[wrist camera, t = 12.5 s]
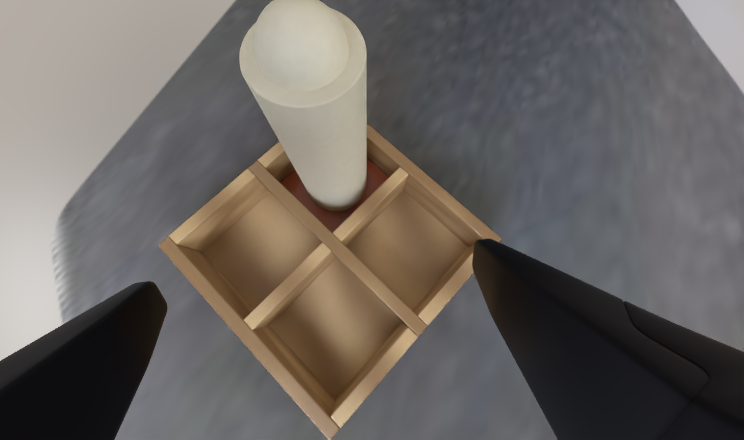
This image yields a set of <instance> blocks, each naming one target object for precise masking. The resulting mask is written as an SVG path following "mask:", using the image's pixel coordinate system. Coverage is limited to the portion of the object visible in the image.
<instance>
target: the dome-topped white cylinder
mask: <svg viewBox="0 0 744 440" xmlns="http://www.w3.org/2000/svg"><path fill="white" fill-rule="evenodd" d="M239 58H240V68H241V72H242V74H243V77H244V79H245V81H246V82H247V84H248V86H249V88H250V90H251V91H252V93H253V95H254V97H255V98H256V100H257V102H258V104H259V106H260V107H261V109H262V111H263V113H264V115H265V116H266V118H267V120H268V122H269V124H270V125H271V127H272V129H273V131H274V132H275V134H276V136H277V138H278V140H279V141H280V143H281V145H282V147H283V149H284V150H285V152H286V154H287V156H288V158H289V159H290V161H291V163H292V165H293V167H294V168H295V170H296V172H297V174H298V175H299V177H300V179H301V181H302V183H303V184H304V186H305V188H306V190H307V192H308V193H309V195H310V197H311V199H312V200H313V201H314V202H315V203H316V204H317V205H318V206H319V207H321V208H323V209H325V210H329V211H344V210H347V209H350V208H352V207H353V206H355V205H356V204H357V203H358V202H359V201H360V200H361V199H362V197H363V196H364V193H365V191H366V186H367V114H366V46H365V42H364V39H363V37H362V35H361V33H360V31H359V29H358V28H357V27H356V25H355V24H354V23H353V22H352V21H351V20H350V19H349V18H347V17H346V16H345V15H343V14H341V13H340V12H338V11H336V10H334V9H331V8H329V7H328V6H326V5H325V4H324V3H322V2H321V1H319V0H273V1H272V2H271V3H269V4H268V5H267V6H266V7H265V8H264V10H263V11H262V13H261V14H260V16H259V18H258V20H257V22H256V23H255V24H254V25H253V26H252V27H251V28H250V29H249V31H248V32H247V34H246V35H245V37H244V40H243V42H242V45H241V48H240V55H239Z"/></svg>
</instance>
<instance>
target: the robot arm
mask: <svg viewBox="0 0 744 440" xmlns="http://www.w3.org/2000/svg"><path fill="white" fill-rule="evenodd" d="M472 267H473V271H474V274H475V276H476V279H477V281H478V284H479V286H480V289H481V291H482V294H483V296H484V299H485V301H486V304H487V306H488V309H489V311H490V313H491V316H492V318H493V320H494V322H495V324H496V326H497V327H498V329H499V331H500V333H501V335H502V337H503V339H504V340H505V342H506V344H507V346H508V348H509V350H510V352H511V353H512V355H513V357H514V359H515V361H516V363H517V365H518V366H519V368H520V370H521V372H522V374H523V376H524V378H525V379H526V381H527V383H528V385H529V387H530V389H531V391H532V392H533V394H534V396H535V398H536V400H537V402H538V404H539V405H540V407H541V409H542V411H543V413H544V415H545V417H546V418H547V420H548V422H549V424H550V426H551V428H552V430H553V431H554V433H555V435H556V437H557V439H558V440H744V352H742V351H740V350H737V349H735V348H733V347H730V346H728V345H725V344H723V343H720V342H718V341H715V340H713V339H711V338H708V337H706V336H703V335H701V334H699V333H696V332H694V331H691V330H689V329H687V328H684V327H682V326H679V325H677V324H675V323H672V322H670V321H668V320H666V319H664V318H661V317H659V316H657V315H655V314H652V313H650V312H648V311H646V310H644V309H641V308H639V307H637V306H635V305H633V304H631V303H629V302H626V301H624V302H623V301H622V299H620V298H618V297H616V296H613V295H611V294H609V293H607V292H605V291H603V290H600V289H598V288H596V287H594V286H592V285H590V284H588V283H585V282H583V281H581V280H579V279H577V278H575V277H572V276H570V275H568V274H566V273H564V272H562V271H560V270H557V269H555V268H553V267H551V266H549V265H547V264H544V263H542V262H540V261H538V260H536V259H534V258H532V257H529V256H527V255H525V254H523V253H521V252H519V251H516V250H514V249H512V248H510V247H508V246H506V245H504V244H501V243H499V242H497V241H495V240H493V239H490V238H488V239H480V240H477V241H475V244H474V251H473V259H472ZM166 313H167V303H166V301H165V299H164V298H163V296H162V294H161V293H160V291H159V289H158V287H157V286H156V284H155V283H153V282H150V281H148V282H140V283H135V284H132V285H131V286H129V287H127V288H125V289H124V290H122V291H120V292H119V293H117V294H115V295H113V296H112V297H110V298H108V299H106V300H105V301H103V302H101V303H100V304H98V305H96V306H94V307H93V308H91V309H89V310H87V311H86V312H84V313H82V314H81V315H79V316H77V317H75V318H74V319H72V320H70V321H68V322H67V323H65V324H63V325H62V326H60V327H58V328H56V329H55V330H53V331H51V332H50V333H48V334H46V335H44V336H43V337H41V338H39V339H38V340H36V341H34V342H32V343H30V344H29V345H27V346H25V347H24V348H22V349H20V350H19V351H17V352H15V353H13V354H12V355H10V356H8V357H6V358H5V359H3V360H1V361H0V440H114V439H115V437H116V435H117V433H118V431H119V428H120V426H121V424H122V422H123V420H124V417H125V415H126V413H127V411H128V409H129V407H130V404H131V402H132V400H133V398H134V396H135V393H136V391H137V389H138V387H139V385H140V382H141V380H142V378H143V376H144V374H145V371H146V369H147V367H148V364H149V362H150V359H151V356H152V353H153V351H154V348H155V345H156V342H157V339H158V336H159V333H160V330H161V327H162V324H163V321H164V318H165V316H166Z"/></svg>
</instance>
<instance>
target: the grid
mask: <svg viewBox="0 0 744 440" xmlns="http://www.w3.org/2000/svg"><path fill="white" fill-rule="evenodd" d="M488 238H490V239H493V240H495V241H497V242H500V241H501V238H500V237H499V236H498V235H497V234H496V233H494V232H493V231H492V230H491V229H490V228H489V227H487V226H486V225H485V224H484V223H483V222H482V221H480V220H479V219H478V218H477V217H476V216H475V215H473V214H472V213H471V212H470V211H469V210H468V209H466V208H465V207H464V206H463V205H462V204H461V203H459V202H458V201H457V200H456V199H455V198H454V197H452V196H451V195H450V194H449V193H448V192H447V191H445V190H444V189H443V188H442V187H441V186H440V185H438V184H437V183H436V182H435V181H434V180H432V179H431V178H430V177H429V176H428V175H427V174H425V173H424V172H423V171H422V170H421V169H420V168H418V167H417V166H416V165H415V164H414V163H413V162H411V161H410V160H409V159H408V158H407V157H406V156H404V155H403V154H402V153H401V152H400V151H399V150H397V149H396V148H395V147H394V146H393V145H392V144H390V143H389V142H388V141H387V140H386V139H385V138H383V137H382V136H381V135H380V134H379V133H378V132H376V131H375V130H374V129H373V128H372V127H371V126H369V125H368V124H367V186H366V191H365V193H364V196H363V197H362V199H361V200H360V201H359V202H358V203H357V204H356V205H355V206H353V207H352V208H350V209H347V210H344V211H329V210H325V209H323V208H321V207H319V206H318V205H317V204H316V203H315V202H314V201H313V200H312V199H311V197H310V195H309V193H308V192H307V190H306V188H305V186H304V184H303V183H302V181H301V179H300V177H299V175H298V174H297V172H296V170H295V168H294V167H293V165H292V163H291V161H290V159H289V158H288V156H287V154H286V152H285V150H284V149H283V147H282V145H281V143H280V141H279V142H278V143H277V144H276V145H274V146H273V147H272V148H271V149H270V150H269V151H267V152H266V153H265V154H264V155H263V156H262V157H260V158H259V159H258V161H256V162H255V163H254V164H252V165H251V166H250V167H249V168H248V169H246V170H245V171H244V172H243V173H242V174H240V175H239V176H238V177H237V178H236V179H235V180H233V181H232V182H231V183H230V184H229V185H228V186H226V187H225V188H224V189H223V190H222V191H221V192H219V193H218V194H217V195H216V196H215V197H213V198H212V199H211V200H210V201H209V202H208V203H206V204H205V205H204V206H203V207H202V208H201V209H199V210H198V211H197V212H196V213H195V214H194V215H192V216H191V217H190V218H189V219H188V220H186V221H185V222H184V223H183V224H182V225H181V226H179V227H178V228H177V229H176V230H175V231H174V232H172V233H171V234H170V235H169V237H167V238H166V239H164V240H163V241H162V242H161V243H160V244H159V245H158V246H159V247H160V248H161V249H162V251H163V252H164V253H165V254H166V255H167V256H168V257H169V259H170V260H171V261H172V262H173V263H174V264H175V265H176V267H177V268H178V269H179V270H180V271H181V272H182V273H183V275H184V276H185V277H186V278H187V279H188V280H189V281H190V283H191V284H192V285H193V286H194V287H195V288H196V289H197V291H198V292H199V293H200V294H201V295H202V296H203V297H204V299H205V300H206V301H207V302H208V303H209V304H210V305H211V306H212V308H213V309H214V310H215V311H216V312H217V313H218V314H219V316H220V317H221V318H222V319H223V320H224V321H225V322H226V324H227V325H228V326H229V327H230V328H231V329H232V330H233V332H234V333H235V334H236V335H237V336H238V337H239V338H240V340H241V341H242V342H243V343H244V344H245V345H246V346H247V348H248V349H249V350H250V351H251V352H252V353H253V354H254V356H255V357H256V358H257V359H258V360H259V361H260V362H261V364H262V365H263V366H264V367H265V368H266V369H267V370H268V372H269V373H270V374H271V375H272V376H273V377H274V378H275V380H276V381H277V382H278V383H279V384H280V385H281V386H282V388H283V389H284V390H285V391H286V392H287V393H288V394H289V395H290V397H291V398H292V399H293V400H294V401H295V402H296V403H297V405H298V406H299V407H300V408H301V409H302V410H303V411H304V413H305V414H306V415H307V416H308V417H309V418H310V419H311V421H312V422H313V423H314V424H315V425H316V426H317V427H318V429H319V430H320V431H321V432H322V433H323V434H324V435H325V437H326V438H327V439H328V440H331V439H332V438H333V436H334V435H335V434H336V433H337V432H338V431H339V429H340V427H342V426H343V425H344V424H345V422H346V421H347V420H348V419H349V418H350V417H351V415H352V414H353V413H354V412H355V411H356V409H357V408H358V407H359V406H360V405H361V404H362V402H363V401H364V400H365V399H366V398H367V397H368V395H369V394H370V393H371V392H372V391H373V390H374V388H375V387H376V386H377V385H378V384H379V382H380V381H381V380H382V379H383V378H384V377H385V375H386V374H387V373H388V372H389V371H390V370H391V368H392V367H393V366H394V365H395V364H396V363H397V361H398V360H399V359H400V358H401V357H402V356H403V354H404V353H405V352H406V351H407V350H408V348H409V347H410V346H411V345H412V344H413V343H414V341H415V340H416V339H417V338H418V336H420V334H421V333H422V332H423V331H424V330H425V329H426V327H427V325H429V324H430V323H431V322H432V321H433V319H434V318H435V317H436V316H437V315H438V313H439V312H440V311H441V310H442V309H443V308H444V306H445V305H446V304H447V303H448V302H449V301H450V299H451V298H452V297H453V296H454V295H455V294H456V292H457V291H458V290H459V289H460V288H461V287H462V285H463V284H464V283H465V282H466V281H467V279H468V278H469V277H470V276H471V275H472V274H473V272H474V271H473V267H472V259H473V251H474V244H475V241H477V240H480V239H488Z"/></svg>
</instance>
